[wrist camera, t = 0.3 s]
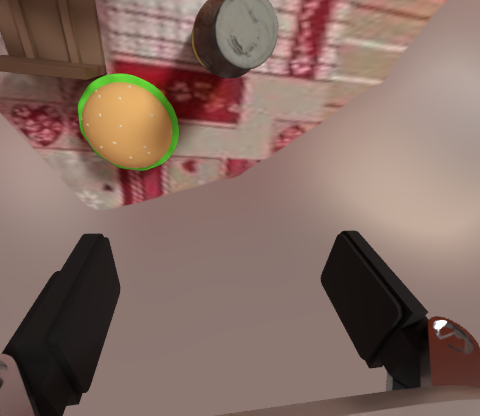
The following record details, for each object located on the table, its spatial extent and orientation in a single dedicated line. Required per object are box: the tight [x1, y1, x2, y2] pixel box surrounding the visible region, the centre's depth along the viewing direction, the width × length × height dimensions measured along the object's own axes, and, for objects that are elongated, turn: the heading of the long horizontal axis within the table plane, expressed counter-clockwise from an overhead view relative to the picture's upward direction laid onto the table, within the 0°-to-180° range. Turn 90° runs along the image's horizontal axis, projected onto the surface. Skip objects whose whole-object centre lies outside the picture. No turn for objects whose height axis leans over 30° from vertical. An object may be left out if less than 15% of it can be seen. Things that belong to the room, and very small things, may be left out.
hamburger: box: [78, 74, 179, 171], centre depth 31 cm, size 12×12×9 cm
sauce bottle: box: [192, 0, 278, 78], centre depth 23 cm, size 7×6×20 cm
